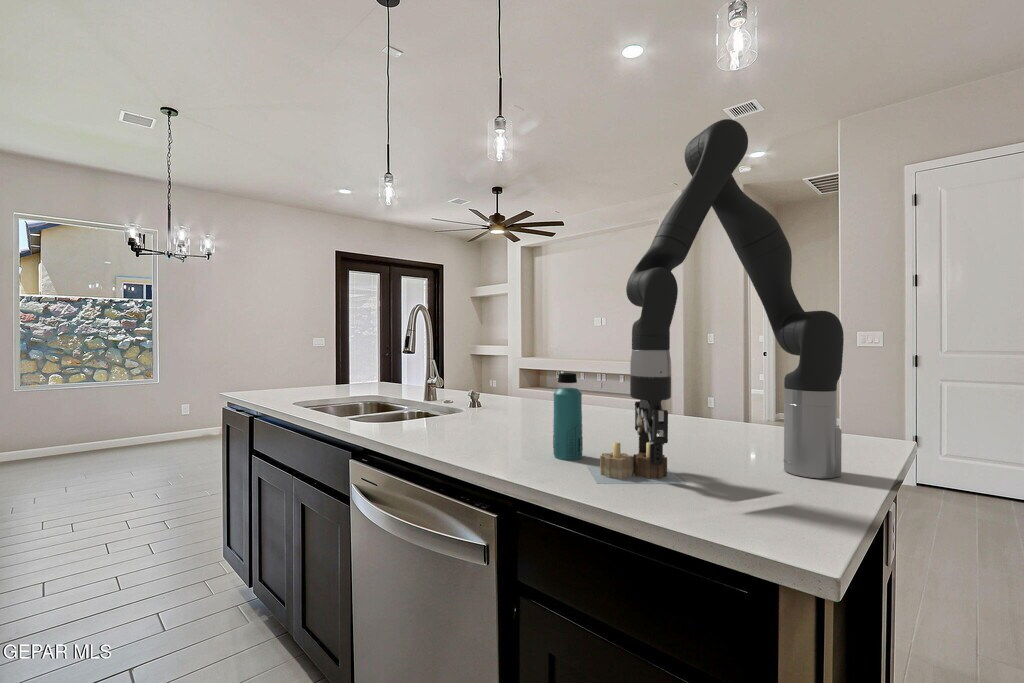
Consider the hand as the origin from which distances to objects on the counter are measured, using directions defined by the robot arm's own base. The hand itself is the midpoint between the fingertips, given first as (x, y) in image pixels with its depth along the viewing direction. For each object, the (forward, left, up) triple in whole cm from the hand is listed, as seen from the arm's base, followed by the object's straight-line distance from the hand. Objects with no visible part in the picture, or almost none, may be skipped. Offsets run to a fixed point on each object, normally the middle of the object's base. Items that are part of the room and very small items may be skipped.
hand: (650, 459), depth 93 cm
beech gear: (+6, 0, -3) cm, 7 cm away
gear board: (+3, 0, -4) cm, 5 cm away
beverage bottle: (+14, -14, -5) cm, 20 cm away
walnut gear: (0, 0, -3) cm, 3 cm away
